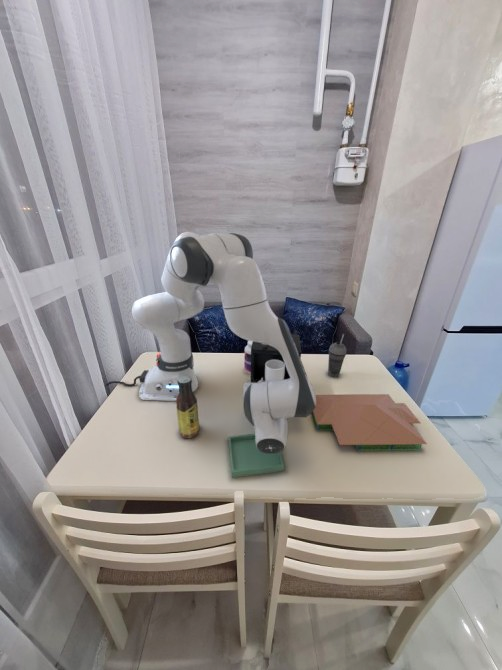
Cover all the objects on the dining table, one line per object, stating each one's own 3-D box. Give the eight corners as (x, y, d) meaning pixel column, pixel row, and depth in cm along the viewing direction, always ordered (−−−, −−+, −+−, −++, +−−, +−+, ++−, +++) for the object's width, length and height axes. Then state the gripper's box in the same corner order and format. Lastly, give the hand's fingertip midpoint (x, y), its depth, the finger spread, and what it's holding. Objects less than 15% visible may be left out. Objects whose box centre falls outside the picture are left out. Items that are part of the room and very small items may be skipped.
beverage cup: (328, 368, 119) (334, 328, 110) (344, 373, 115) (352, 332, 107) (322, 375, 114) (328, 334, 105) (338, 381, 110) (346, 338, 101)
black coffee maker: (295, 403, 97) (301, 349, 87) (250, 399, 99) (250, 346, 89) (294, 381, 110) (299, 331, 100) (254, 378, 111) (255, 329, 102)
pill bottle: (240, 369, 117) (240, 340, 111) (255, 364, 122) (255, 336, 115) (251, 378, 111) (252, 348, 105) (266, 372, 116) (267, 342, 110)
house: (433, 451, 78) (441, 431, 75) (322, 452, 77) (326, 432, 74) (393, 401, 99) (399, 383, 95) (306, 401, 98) (308, 383, 94)
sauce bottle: (195, 440, 81) (189, 388, 72) (176, 437, 82) (168, 385, 73) (202, 425, 86) (198, 375, 78) (185, 422, 88) (178, 372, 79)
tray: (232, 477, 70) (231, 472, 69) (228, 441, 81) (228, 436, 80) (283, 470, 72) (284, 465, 71) (273, 436, 83) (273, 431, 82)
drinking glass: (277, 408, 91) (279, 371, 84) (260, 401, 94) (261, 365, 88) (285, 398, 96) (288, 362, 90) (269, 391, 99) (270, 357, 93)
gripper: (308, 400, 78) (305, 374, 90) (240, 395, 80) (245, 370, 92) (306, 417, 80) (303, 389, 93) (240, 411, 82) (245, 385, 95)
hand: (274, 380), depth 92 cm, fingers closed on drinking glass, 6 cm apart
